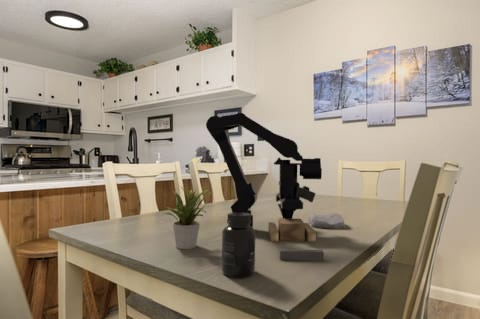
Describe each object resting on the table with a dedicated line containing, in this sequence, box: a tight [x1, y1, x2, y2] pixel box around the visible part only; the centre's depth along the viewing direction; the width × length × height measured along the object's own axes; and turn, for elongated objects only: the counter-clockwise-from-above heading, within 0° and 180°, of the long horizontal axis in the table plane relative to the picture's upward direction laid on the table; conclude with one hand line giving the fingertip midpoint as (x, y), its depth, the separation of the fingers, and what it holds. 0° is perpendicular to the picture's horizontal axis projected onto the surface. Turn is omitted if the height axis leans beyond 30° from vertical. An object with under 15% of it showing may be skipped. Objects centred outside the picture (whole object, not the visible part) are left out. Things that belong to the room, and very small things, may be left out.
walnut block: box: [277, 217, 306, 242], centre depth 91 cm, size 7×8×5 cm
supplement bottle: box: [221, 212, 256, 279], centre depth 62 cm, size 7×7×12 cm
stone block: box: [307, 212, 346, 230], centre depth 108 cm, size 12×5×10 cm
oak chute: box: [267, 221, 317, 243], centre depth 92 cm, size 12×12×3 cm
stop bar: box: [279, 248, 325, 261], centre depth 71 cm, size 10×2×2 cm, turn 89°
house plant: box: [160, 186, 212, 250], centre depth 80 cm, size 14×14×16 cm
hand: (287, 227), depth 97 cm, fingers closed
